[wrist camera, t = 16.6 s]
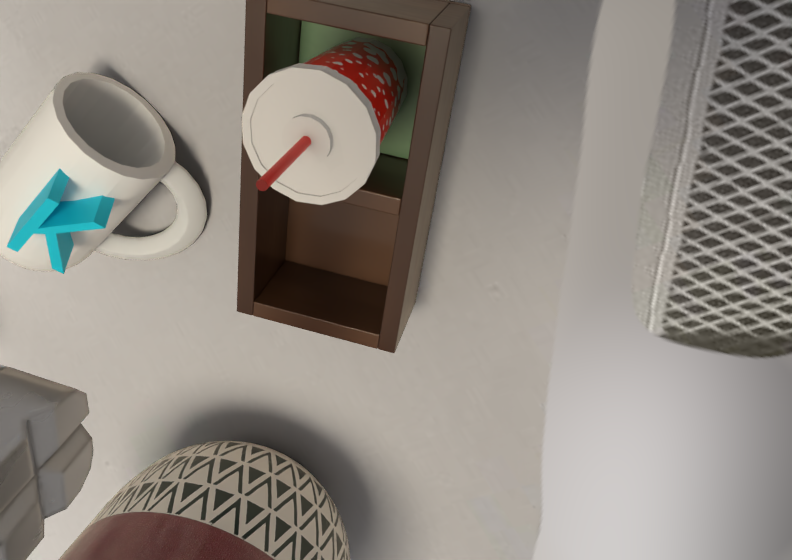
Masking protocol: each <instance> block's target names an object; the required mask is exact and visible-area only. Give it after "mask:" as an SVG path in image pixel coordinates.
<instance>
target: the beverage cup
mask: <svg viewBox="0 0 792 560" xmlns="http://www.w3.org/2000/svg"><path fill="white" fill-rule="evenodd" d="M406 95H407V75H406V73H405V70H404V67H403V64H402V61H401V60H400V59H399V57H398V56H397V55H396V54H395V53H394V51H393V50H392V49H391V48H390V47H388V46H387V45H385V44H383V43H381V42H379V41H378V40H376V39H370V38H361V37H357V38H354V39H351V40H348V41H345V42H342V43H340V44H338V45H336V46H335V47H333V48H331V49H329V50H327V51H325V52H323V53H321V54H319V55H318V56H316V57H314V58H312V59H310V60H308V61H306V62H304V63H298V64H295V65H292V66H289V67H286V68H283V69H280V70H277V71H275V72H274V73H271V74H269V75H268V76H267V77H266V78H265V79H264V80H263V81H262V82H261V83H260V84H259V85H258V86H257V87H256V88H255V89H254V90H253V91H252V92H251V93H250V94H249V97H248V100H247V103H246V105H245V108H244V111H243V114H242V117H241V120H242V135H243V145H244V147H245V149H246V151H247V153H248V156H249V158H250V160H251V162H252V165H253V167H254V169H255V170H256V171H257V172H258V173H259V174H260V175H261V176H262V177H261V178H260V179H259V180H258V181H257V182H256V187H257V188H258V189H259V190H260V191H266V190H267V189H268V188H269V187H270V186H271V187H272V188H273V189H275V190H276V191H278V192H280V193H282V194H284V195H286V196H288V197H289V198H291V199H293V200H295V201H298V202H304V203H311V204H318V205H324V204H328V203H332V202H337V201H341V200H345V199H347V198H348V197H349V196H350V195H352V194H353V193H354V192H355V191H357V190H358V189H359V188H360V187H362V186H363V185H364V184H365V183H366V181H367V179H368V177H369V176H370V173H371V171H372V169H373V167H374V165H375V163H376V161H377V159H378V157H379V155H380V144H381V142H382V141H383V139H384V137H385V135H386V133H387V131H388V130H389V128H390V126H391V124H392V122H393V120H394V119H395V117H396V115H397V113H398V111H399V110H400V107H401V105H402V103H403V101H404V99H405V97H406Z"/></svg>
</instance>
